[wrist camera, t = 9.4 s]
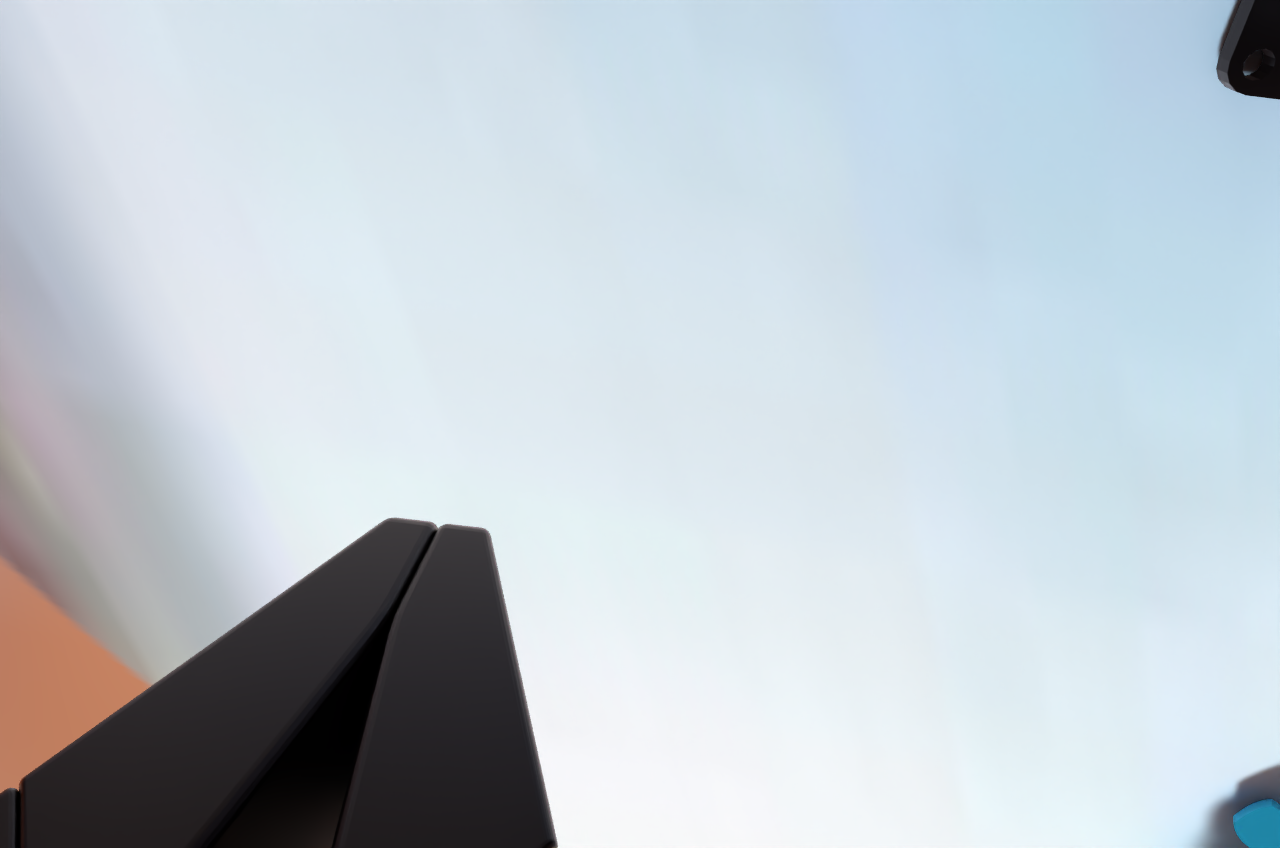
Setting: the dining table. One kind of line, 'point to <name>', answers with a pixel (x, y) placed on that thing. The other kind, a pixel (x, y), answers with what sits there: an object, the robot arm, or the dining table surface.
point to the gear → (1259, 824)
